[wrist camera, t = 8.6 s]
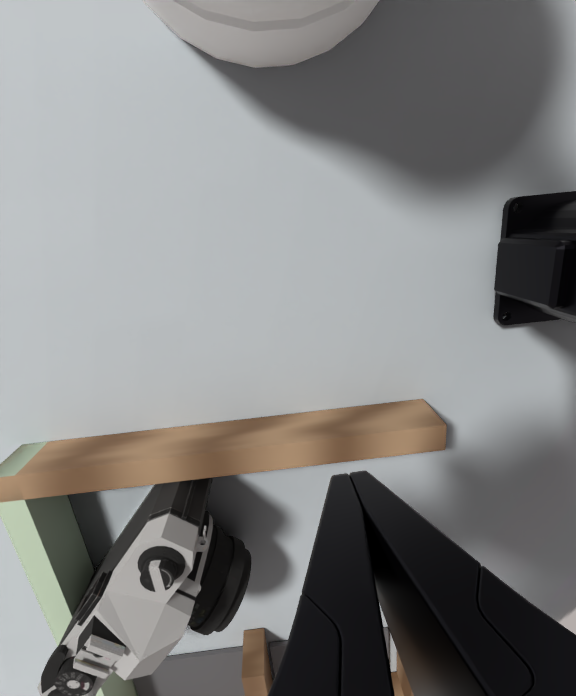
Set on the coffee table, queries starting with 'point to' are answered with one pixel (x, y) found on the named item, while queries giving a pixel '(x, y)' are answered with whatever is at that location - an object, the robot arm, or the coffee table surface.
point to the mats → (205, 672)
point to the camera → (151, 592)
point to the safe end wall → (52, 557)
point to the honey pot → (263, 27)
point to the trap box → (232, 468)
